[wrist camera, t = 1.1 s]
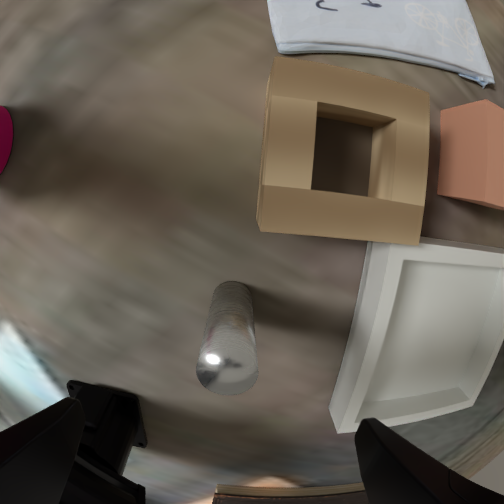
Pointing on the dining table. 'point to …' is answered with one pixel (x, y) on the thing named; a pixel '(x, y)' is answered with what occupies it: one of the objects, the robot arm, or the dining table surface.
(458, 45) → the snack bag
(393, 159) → the oak block
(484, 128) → the rust block
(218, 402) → the dining table surface
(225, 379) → the cylinder
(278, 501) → the hardcover book
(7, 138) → the pepper mill
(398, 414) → the tray
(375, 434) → the robot arm
